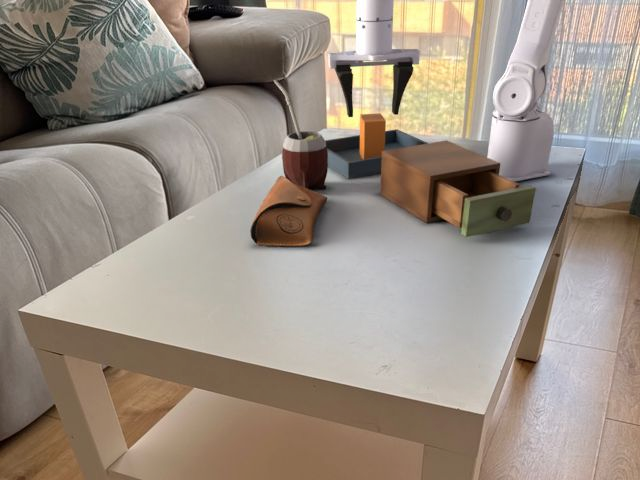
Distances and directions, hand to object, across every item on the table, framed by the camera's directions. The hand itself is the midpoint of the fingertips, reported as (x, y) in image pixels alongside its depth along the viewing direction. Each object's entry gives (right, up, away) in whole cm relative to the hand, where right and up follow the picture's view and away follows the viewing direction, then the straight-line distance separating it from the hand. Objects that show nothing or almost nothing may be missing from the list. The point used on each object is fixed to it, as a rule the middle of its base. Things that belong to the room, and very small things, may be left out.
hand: (372, 114), depth 107 cm
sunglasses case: (-13, -24, -17) cm, 32 cm away
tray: (+1, -6, +5) cm, 7 cm away
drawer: (+12, -24, -20) cm, 33 cm away
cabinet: (+8, -19, -12) cm, 24 cm away
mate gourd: (-11, -15, -6) cm, 20 cm away
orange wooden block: (0, -5, +4) cm, 7 cm away
